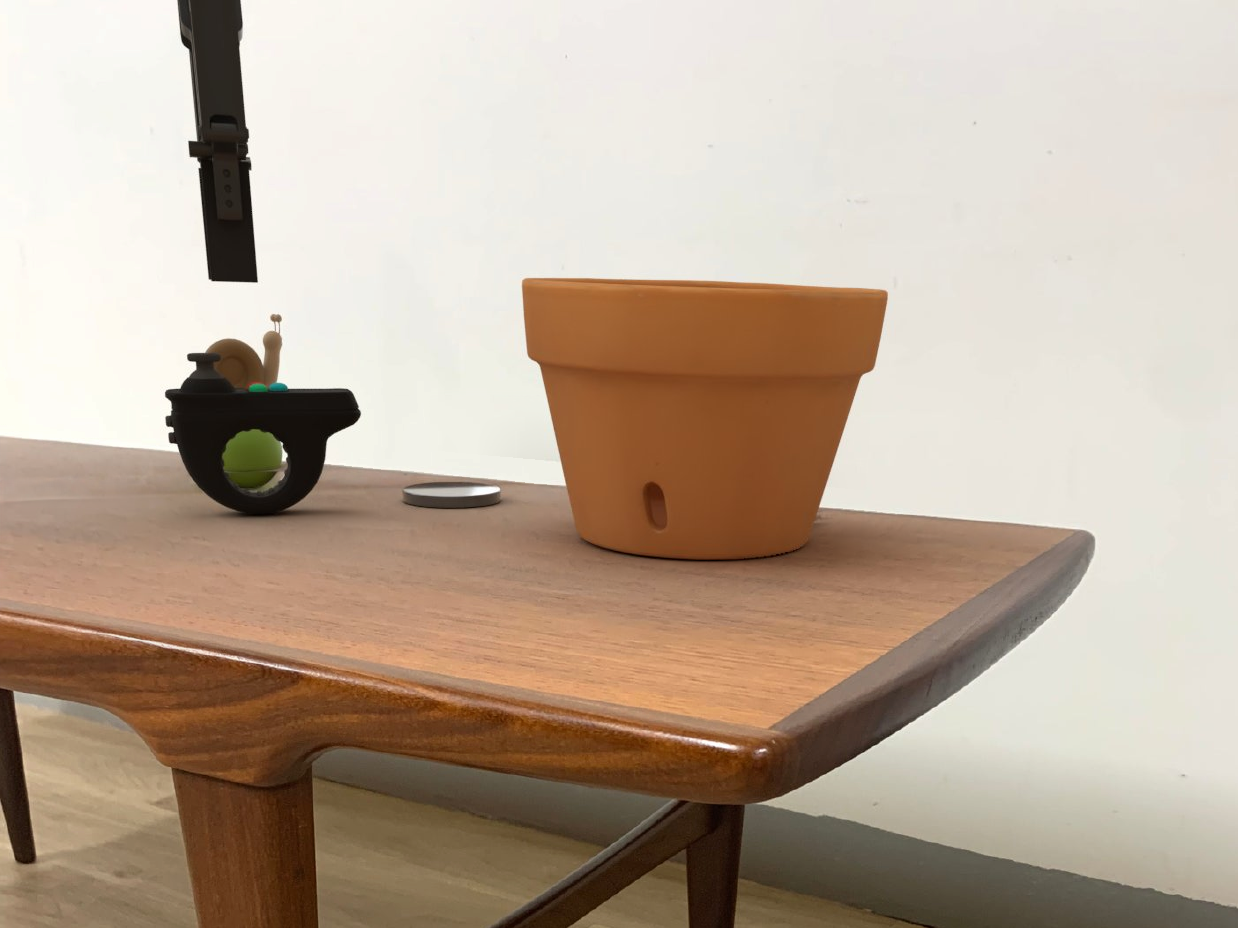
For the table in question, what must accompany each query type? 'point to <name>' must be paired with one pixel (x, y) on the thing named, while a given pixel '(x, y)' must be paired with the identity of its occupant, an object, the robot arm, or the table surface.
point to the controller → (221, 411)
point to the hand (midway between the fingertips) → (232, 280)
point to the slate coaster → (451, 494)
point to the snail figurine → (242, 370)
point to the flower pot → (698, 406)
